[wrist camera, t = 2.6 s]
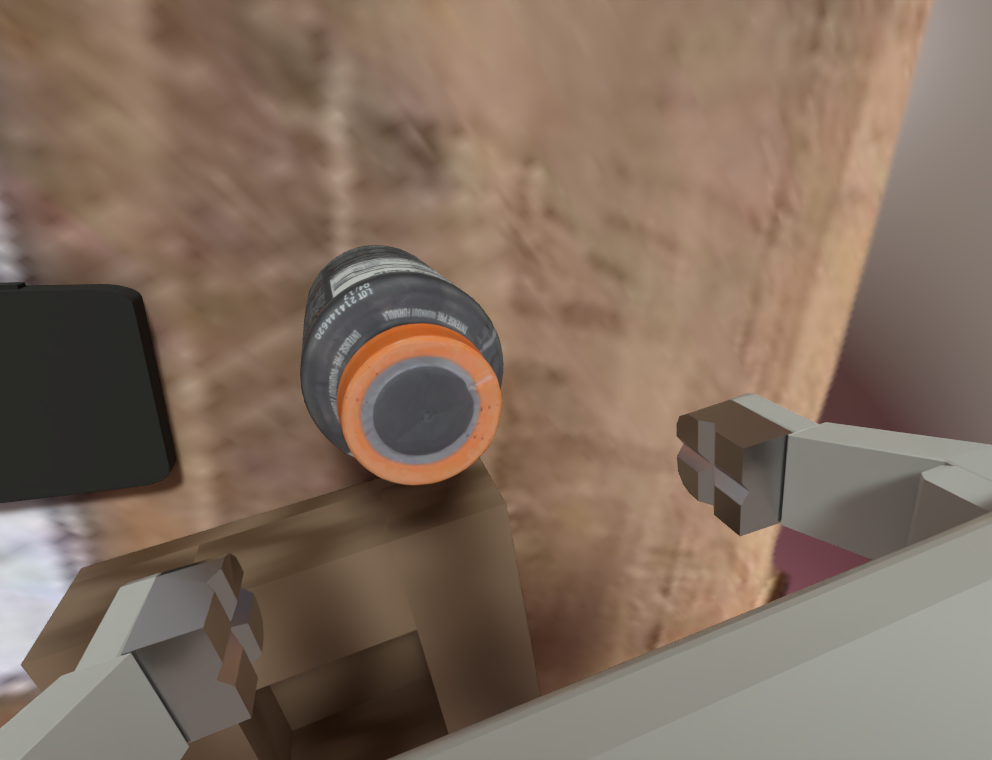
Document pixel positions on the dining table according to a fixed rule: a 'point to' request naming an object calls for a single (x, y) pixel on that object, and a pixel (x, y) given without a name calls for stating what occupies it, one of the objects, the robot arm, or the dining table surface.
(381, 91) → the dining table surface
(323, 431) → the pill bottle
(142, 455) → the smart home device
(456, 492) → the walnut holder
